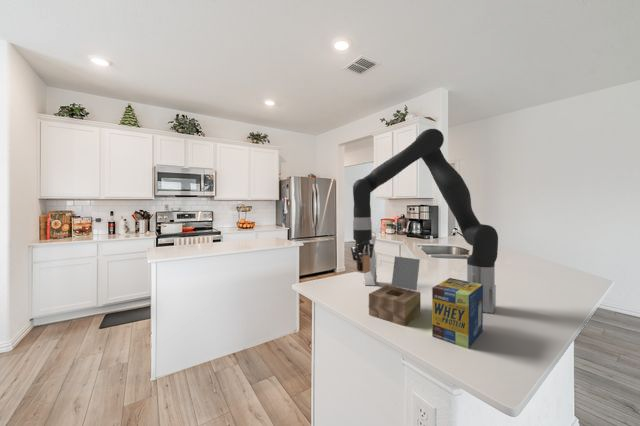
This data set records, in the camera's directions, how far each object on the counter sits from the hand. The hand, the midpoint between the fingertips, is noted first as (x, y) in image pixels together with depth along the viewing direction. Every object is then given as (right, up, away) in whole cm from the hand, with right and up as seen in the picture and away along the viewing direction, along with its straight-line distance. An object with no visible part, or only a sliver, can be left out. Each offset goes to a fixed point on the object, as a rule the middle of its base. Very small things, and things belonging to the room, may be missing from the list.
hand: (363, 269), depth 107 cm
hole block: (+10, -15, -9) cm, 20 cm away
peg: (0, -1, 0) cm, 1 cm away
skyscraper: (+9, -14, +29) cm, 33 cm away
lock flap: (+16, -1, -3) cm, 17 cm away
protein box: (+26, -15, -25) cm, 39 cm away
